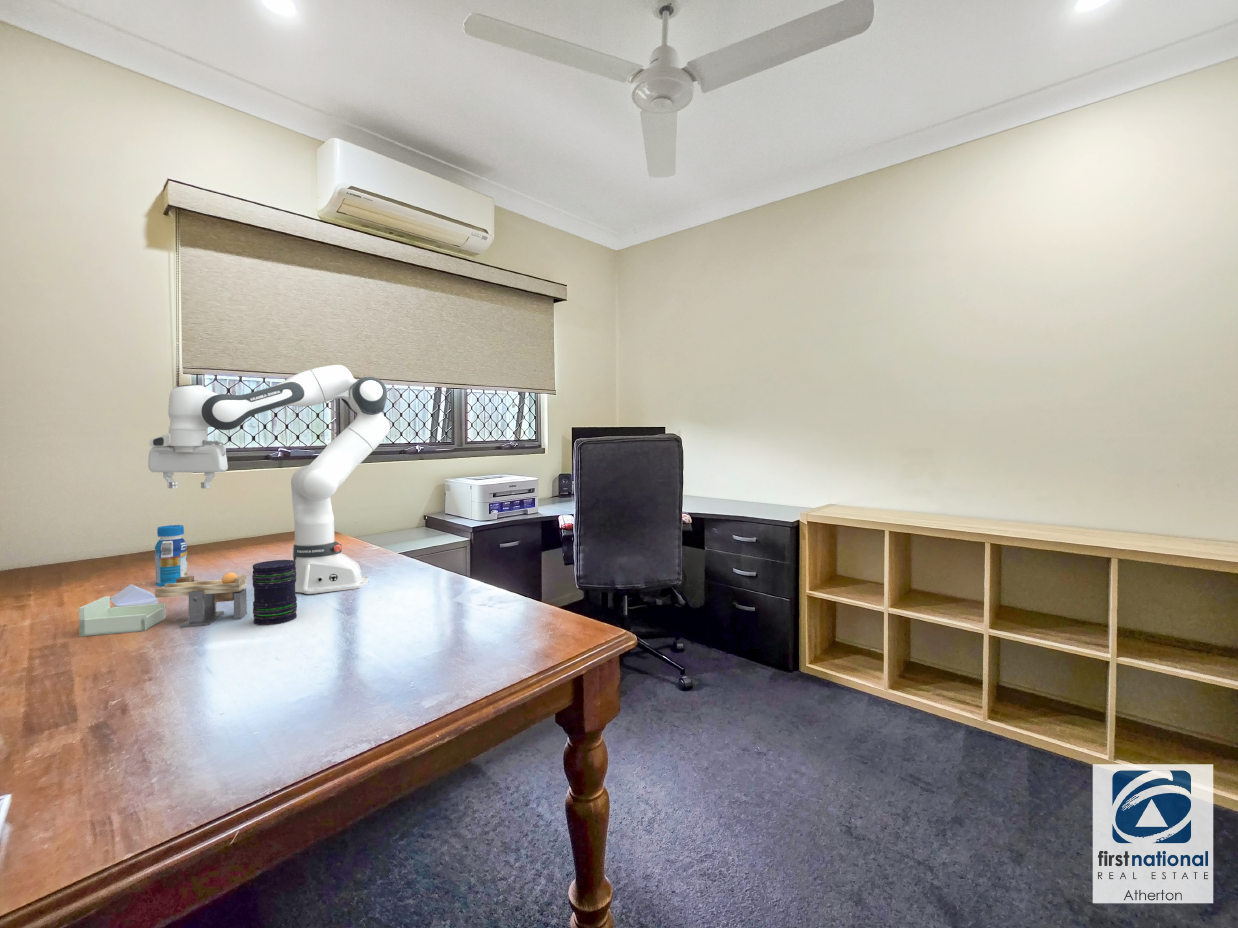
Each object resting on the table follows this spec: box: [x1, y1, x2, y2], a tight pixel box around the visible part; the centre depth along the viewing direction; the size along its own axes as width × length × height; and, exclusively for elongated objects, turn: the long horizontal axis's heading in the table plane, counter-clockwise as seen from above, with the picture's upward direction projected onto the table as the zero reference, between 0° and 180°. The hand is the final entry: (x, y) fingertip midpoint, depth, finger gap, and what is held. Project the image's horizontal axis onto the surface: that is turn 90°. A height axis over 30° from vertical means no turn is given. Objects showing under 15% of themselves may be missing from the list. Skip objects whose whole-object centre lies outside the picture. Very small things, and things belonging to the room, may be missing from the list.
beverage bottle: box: [154, 524, 189, 587], centre depth 178 cm, size 8×8×20 cm
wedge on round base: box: [110, 583, 159, 607], centre depth 150 cm, size 9×7×13 cm
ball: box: [221, 572, 239, 584], centre depth 144 cm, size 4×4×4 cm
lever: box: [154, 573, 247, 603], centre depth 146 cm, size 18×15×6 cm
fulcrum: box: [179, 587, 248, 629], centre depth 143 cm, size 12×11×9 cm
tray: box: [78, 595, 167, 638], centre depth 137 cm, size 13×11×7 cm
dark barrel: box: [251, 559, 298, 626], centre depth 142 cm, size 10×10×15 cm
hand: (189, 488), depth 156 cm, fingers open, 8 cm apart
